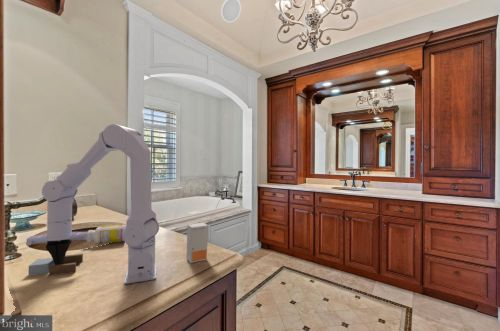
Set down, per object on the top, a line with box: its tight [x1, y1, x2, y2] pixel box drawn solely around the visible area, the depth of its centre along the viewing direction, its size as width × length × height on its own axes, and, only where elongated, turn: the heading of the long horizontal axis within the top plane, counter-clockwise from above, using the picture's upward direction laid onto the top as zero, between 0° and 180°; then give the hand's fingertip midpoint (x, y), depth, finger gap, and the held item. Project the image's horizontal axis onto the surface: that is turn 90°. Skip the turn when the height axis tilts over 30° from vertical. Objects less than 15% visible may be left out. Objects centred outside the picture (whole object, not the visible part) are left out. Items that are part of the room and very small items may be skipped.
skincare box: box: [186, 222, 209, 264], centre depth 78 cm, size 6×4×12 cm
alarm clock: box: [72, 197, 78, 221], centre depth 124 cm, size 11×5×16 cm, turn 58°
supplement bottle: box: [86, 224, 126, 245], centre depth 91 cm, size 7×7×13 cm
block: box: [28, 257, 55, 276], centre depth 67 cm, size 4×4×3 cm
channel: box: [48, 253, 84, 277], centre depth 69 cm, size 8×6×2 cm
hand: (59, 265), depth 68 cm, fingers closed
